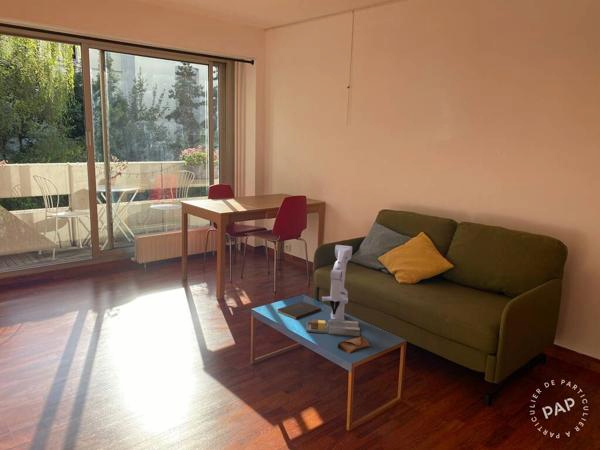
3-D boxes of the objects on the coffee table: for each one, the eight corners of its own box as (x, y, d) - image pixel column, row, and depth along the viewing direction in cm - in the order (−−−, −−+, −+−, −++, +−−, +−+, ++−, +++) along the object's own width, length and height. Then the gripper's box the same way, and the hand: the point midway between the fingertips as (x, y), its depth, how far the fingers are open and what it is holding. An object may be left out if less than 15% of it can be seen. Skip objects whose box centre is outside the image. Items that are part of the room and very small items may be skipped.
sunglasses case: (348, 354, 236) (345, 341, 238) (339, 356, 241) (336, 343, 243) (373, 345, 247) (369, 333, 249) (364, 347, 253) (360, 335, 254)
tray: (306, 324, 271) (306, 321, 271) (327, 325, 271) (327, 323, 270) (306, 331, 260) (306, 329, 260) (327, 333, 260) (328, 331, 260)
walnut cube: (310, 326, 268) (311, 319, 267) (317, 326, 267) (318, 319, 267) (310, 328, 264) (311, 322, 263) (317, 329, 264) (318, 322, 263)
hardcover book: (276, 312, 287) (277, 309, 287) (302, 304, 304) (302, 300, 304) (296, 320, 277) (296, 316, 276) (321, 311, 294) (321, 308, 293)
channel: (328, 325, 271) (328, 319, 270) (357, 327, 271) (358, 321, 270) (328, 333, 259) (329, 327, 259) (359, 336, 259) (359, 329, 258)
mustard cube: (317, 326, 267) (318, 320, 267) (324, 327, 267) (325, 320, 266) (317, 329, 263) (318, 322, 263) (324, 330, 263) (325, 323, 263)
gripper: (322, 291, 257) (321, 315, 260) (349, 293, 257) (347, 317, 259) (322, 287, 264) (321, 310, 267) (348, 289, 264) (346, 312, 266)
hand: (333, 313), depth 263 cm, fingers closed
